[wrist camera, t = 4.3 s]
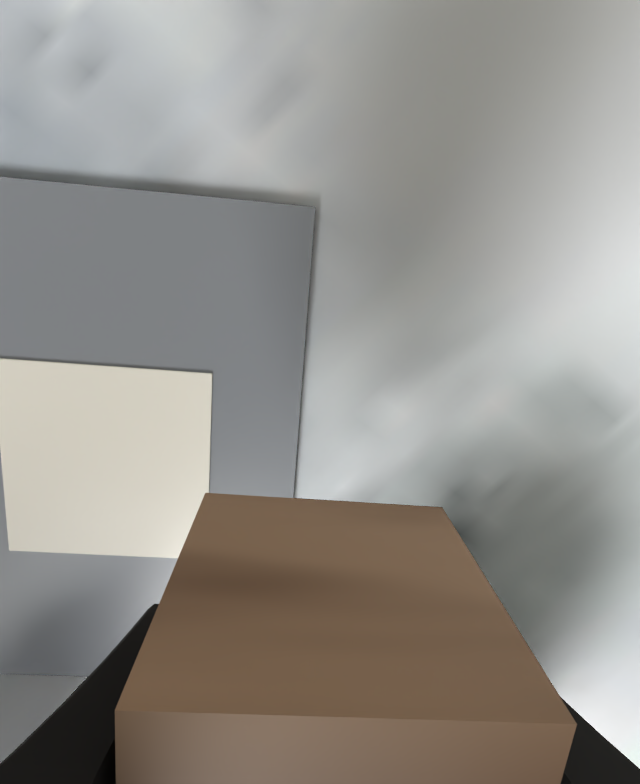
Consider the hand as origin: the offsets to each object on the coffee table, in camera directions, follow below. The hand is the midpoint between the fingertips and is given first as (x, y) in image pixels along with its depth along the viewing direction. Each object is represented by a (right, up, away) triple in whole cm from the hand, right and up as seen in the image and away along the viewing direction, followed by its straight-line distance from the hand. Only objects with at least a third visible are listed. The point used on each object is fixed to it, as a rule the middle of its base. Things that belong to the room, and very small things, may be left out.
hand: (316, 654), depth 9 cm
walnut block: (0, 0, +1) cm, 2 cm away
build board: (-7, +3, +8) cm, 11 cm away
